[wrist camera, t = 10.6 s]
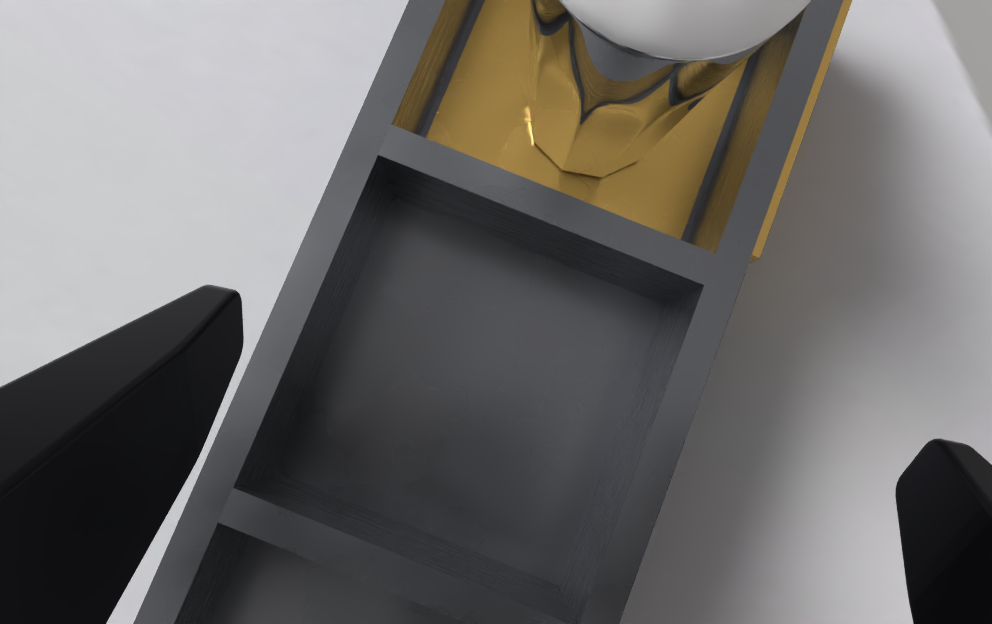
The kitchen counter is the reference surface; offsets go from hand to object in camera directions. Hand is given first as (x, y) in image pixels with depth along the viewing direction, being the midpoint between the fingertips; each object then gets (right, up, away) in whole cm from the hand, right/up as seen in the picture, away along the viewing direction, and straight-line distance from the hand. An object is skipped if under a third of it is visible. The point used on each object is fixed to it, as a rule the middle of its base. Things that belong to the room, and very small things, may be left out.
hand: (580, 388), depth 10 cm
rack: (-2, -1, +9) cm, 9 cm away
